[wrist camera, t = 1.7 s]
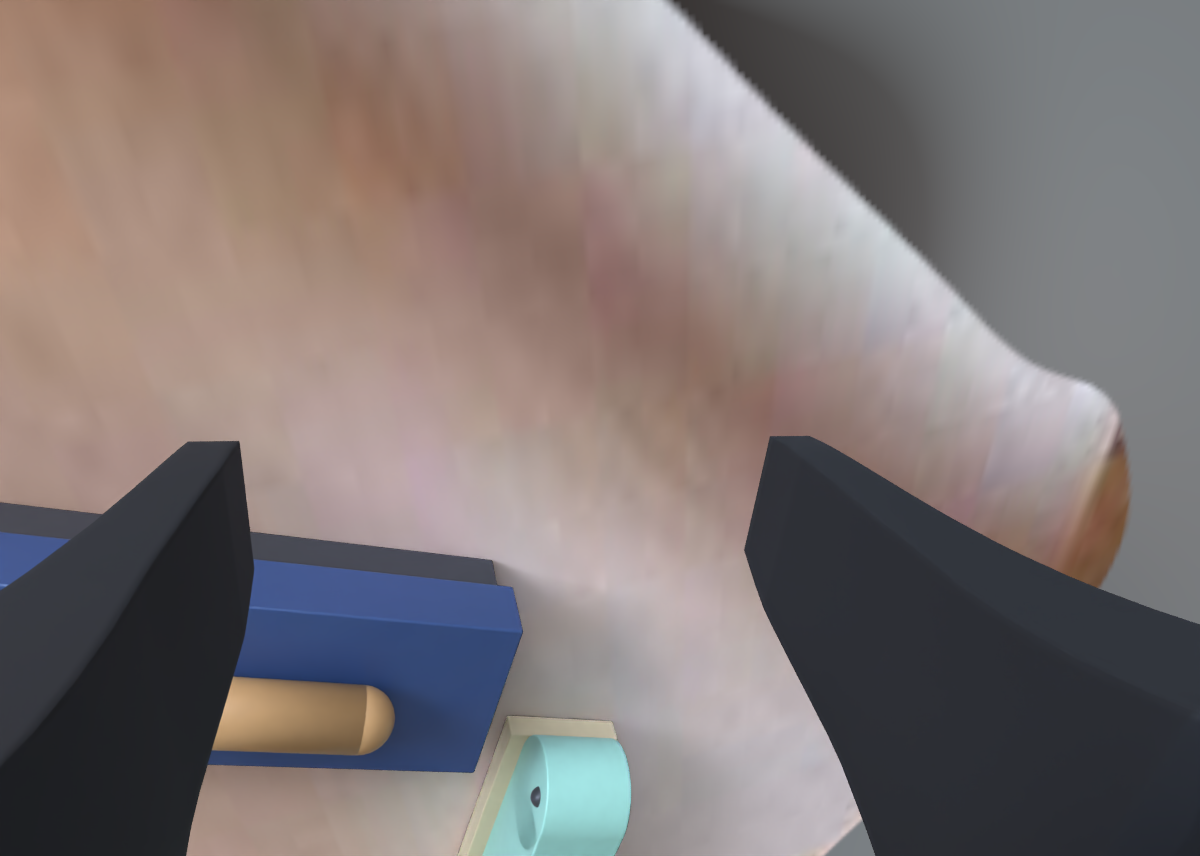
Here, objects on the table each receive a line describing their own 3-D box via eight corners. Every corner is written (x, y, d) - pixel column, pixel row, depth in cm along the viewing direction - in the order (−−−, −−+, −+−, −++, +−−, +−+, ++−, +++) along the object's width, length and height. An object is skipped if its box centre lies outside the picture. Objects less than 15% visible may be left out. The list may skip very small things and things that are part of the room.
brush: (505, 552, 24) (534, 675, 20) (462, 685, 26) (480, 821, 22) (-42, 485, 20) (-146, 626, 16) (-43, 652, 22) (-136, 814, 18)
